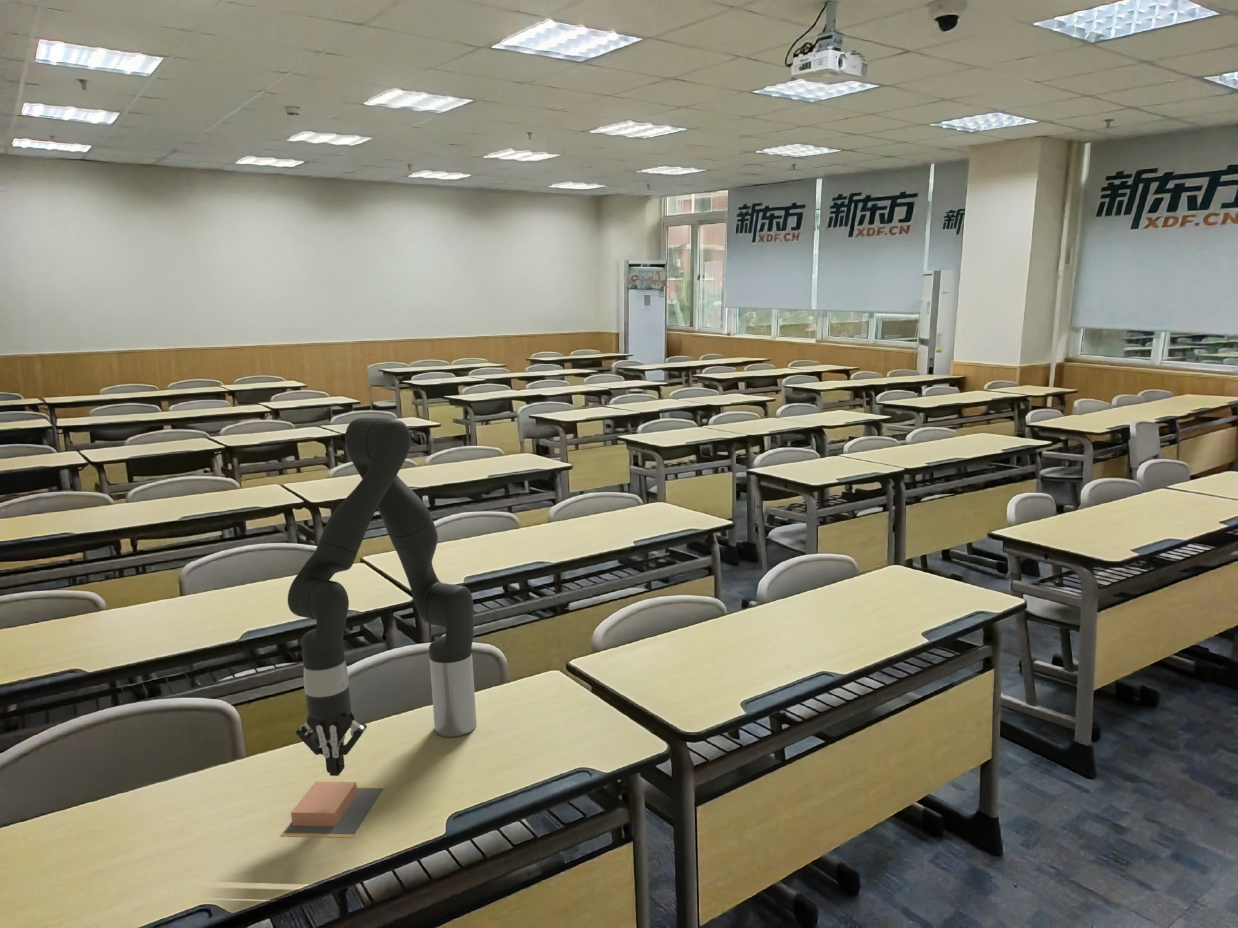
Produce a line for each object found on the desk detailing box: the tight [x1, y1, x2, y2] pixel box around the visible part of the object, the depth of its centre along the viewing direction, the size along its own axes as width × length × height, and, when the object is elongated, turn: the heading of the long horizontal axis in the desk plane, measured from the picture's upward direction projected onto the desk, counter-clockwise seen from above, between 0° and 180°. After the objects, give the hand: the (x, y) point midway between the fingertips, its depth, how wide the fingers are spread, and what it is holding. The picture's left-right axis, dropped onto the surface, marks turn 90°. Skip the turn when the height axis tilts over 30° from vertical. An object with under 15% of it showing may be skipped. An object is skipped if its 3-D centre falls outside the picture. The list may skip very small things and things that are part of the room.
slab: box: [290, 781, 358, 827], centre depth 151 cm, size 10×3×8 cm
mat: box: [280, 785, 386, 839], centre depth 151 cm, size 16×13×1 cm
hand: (336, 773), depth 150 cm, fingers closed
